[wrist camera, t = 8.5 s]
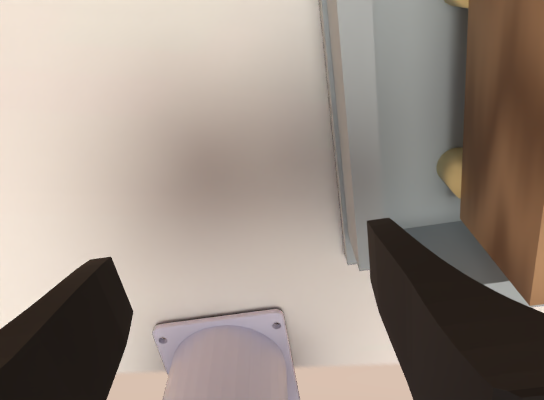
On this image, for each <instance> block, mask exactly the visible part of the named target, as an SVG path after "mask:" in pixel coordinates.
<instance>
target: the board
mask: <svg viewBox="0 0 544 400" xmlns="http://www.w3.org/2000/svg"><path fill="white" fill-rule="evenodd" d="M460 219H461V221H462V222H463V223H464V224H465V226H466V227H467V228H468V229H469V231H470V232H471V233H472V234H473V236H474V237H475V238H476V239H477V241H478V242H479V243H480V244H481V246H482V247H483V248H484V249H485V251H486V252H487V253H488V254H489V256H490V257H491V258H492V260H493V261H494V262H495V263H496V265H497V266H498V267H499V268H500V270H501V271H502V272H503V273H504V275H505V276H506V277H507V278H508V280H509V281H510V282H511V283H512V285H513V286H514V287H515V288H516V290H517V291H518V292H519V293H520V295H521V296H522V297H523V298H524V300H525V301H526V302H527V303H528V305H529V306H534V305H541V304H544V0H469V6H468V30H467V55H466V80H465V104H464V129H463V153H462V178H461V203H460Z"/></svg>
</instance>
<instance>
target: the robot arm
mask: <svg viewBox="0 0 544 400" xmlns="http://www.w3.org/2000/svg"><path fill="white" fill-rule="evenodd" d="M367 234H368V249H369V263H370V278H371V284H372V287H373V291H374V295H375V299H376V303H377V306H378V310H379V313H380V316H381V318H382V321H383V323H384V326H385V328H386V331H387V333H388V336H389V338H390V341H391V343H392V346H393V348H394V351H395V353H396V356H397V358H398V361H399V363H400V366H401V368H402V370H403V373H404V375H405V378H406V380H407V383H408V386H409V388H410V391H411V394H412V397H413V400H544V313H542V312H540V311H537V310H535V309H533V308H531V307H528V306H526V305H524V304H522V303H519V302H517V301H515V300H513V299H510V298H508V297H506V296H504V295H502V294H500V293H498V292H496V291H494V290H493V289H491V288H489V287H487V286H485V285H483V284H481V283H480V282H478V281H476V280H474V279H472V278H471V277H469V276H467V275H466V274H464V273H462V272H461V271H459V270H458V269H456V268H455V267H453V266H452V265H450V264H449V263H447V262H446V261H444V260H443V259H441V258H440V257H438V256H437V255H436V254H434V253H433V252H432V251H430V250H429V249H428V248H426V247H425V246H424V245H422V244H421V243H420V242H419V241H417V240H416V239H415V238H414V237H412V236H411V235H410V234H409V233H408V232H406V231H405V230H404V229H403V228H402V227H400V226H399V225H398V224H397V223H396V222H394V221H393V220H392V219H390V218H382V219H375V220H368V221H367ZM132 316H133V310H132V307H131V305H130V302H129V300H128V297H127V295H126V293H125V290H124V288H123V285H122V283H121V280H120V278H119V275H118V273H117V270H116V268H115V265H114V263H113V261H112V258H111V257H106V258H99V259H92V260H89V261H88V262H86V263H85V264H83V265H82V266H80V267H79V268H78V269H76V270H75V271H74V272H73V273H71V274H70V275H69V276H67V277H66V278H65V279H64V280H63V281H61V282H60V283H59V284H58V285H56V286H55V287H54V288H53V289H51V290H50V291H49V292H48V293H46V294H45V295H44V296H43V297H42V298H40V299H39V300H38V301H37V302H35V303H34V304H33V305H32V306H30V307H29V308H28V309H26V310H25V311H24V312H23V313H21V314H20V315H19V316H17V317H16V318H15V319H13V320H12V321H11V322H9V323H8V324H7V325H5V326H4V327H3V328H1V329H0V400H106V399H107V396H108V394H109V391H110V388H111V386H112V383H113V380H114V378H115V375H116V372H117V370H118V367H119V364H120V361H121V358H122V356H123V353H124V350H125V347H126V344H127V340H128V335H129V331H130V326H131V321H132ZM276 322H277V323H280V324H274V323H276ZM152 334H153V337H154V340H155V342H156V345H157V348H158V350H159V353H160V356H161V358H162V361H163V363H164V366H165V369H166V371H167V374H168V380H167V384H166V388H165V392H164V396H163V400H300V397H299V392H298V387H297V381H296V376H295V371H294V366H293V361H292V355H291V350H290V345H289V340H288V335H287V329H286V324H285V319H284V314H283V312H282V311H281V310H278V309H271V310H263V311H255V312H248V313H240V314H233V315H225V316H218V317H210V318H203V319H195V320H188V321H180V322H172V323H165V324H159V325H156V326H155V327H154V329H153V332H152ZM161 337H163V338H166V339H162V338H161Z"/></svg>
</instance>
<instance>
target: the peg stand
mask: <svg viewBox="0 0 544 400" xmlns="http://www.w3.org/2000/svg"><path fill="white" fill-rule="evenodd" d="M468 6H469V0H319V7H320V17H321V26H322V36H323V46H324V56H325V66H326V75H327V85H328V95H329V105H330V115H331V125H332V134H333V144H334V154H335V164H336V174H337V184H338V193H339V203H340V213H341V223H342V233H343V243H344V252H345V257H346V261H347V264H348V265H352V264H358V268H359V271H364V270H370V263H369V249H368V234H367V221H368V220H375V219H382V218H390V219H392V220H393V221H394V222H396V223H397V224H398V225H399V226H400V227H402V228H403V229H404V230H405V231H406V232H408V233H409V234H410V235H411V236H412V237H414V238H415V239H416V240H417V241H419V242H420V243H421V244H422V245H424V246H425V247H426V248H428V249H429V250H430V251H432V252H433V253H434V254H436V255H437V256H438V257H440V258H441V259H443V260H444V261H446V262H447V263H449V264H450V265H452V266H453V267H455V268H456V269H458V270H459V271H461V272H462V273H464V274H466V275H467V276H469V277H471V278H472V279H474V280H476V281H478V282H480V283H481V284H483V285H485V286H487V287H489V288H491V289H493V290H494V291H496V292H498V293H500V294H502V295H504V296H506V297H508V298H510V299H513V300H515V301H517V302H519V303H522V304H524V305H526V306H528V307H538V306H544V304H541V305H534V306H529V305H528V303H527V302H526V301H525V300H524V298H523V297H522V296H521V295H520V293H519V292H518V291H517V290H516V288H515V287H514V286H513V285H512V283H511V282H510V281H509V280H508V278H507V277H506V276H505V275H504V273H503V272H502V271H501V270H500V268H499V267H498V266H497V265H496V263H495V262H494V261H493V260H492V258H491V257H490V256H489V254H488V253H487V252H486V251H485V249H484V248H483V247H482V246H481V244H480V243H479V242H478V241H477V239H476V238H475V237H474V236H473V234H472V233H471V232H470V231H469V229H468V228H467V227H466V226H465V224H464V223H463V222H462V221H461V219H460V203H461V178H462V153H463V129H464V104H465V80H466V55H467V30H468Z"/></svg>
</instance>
